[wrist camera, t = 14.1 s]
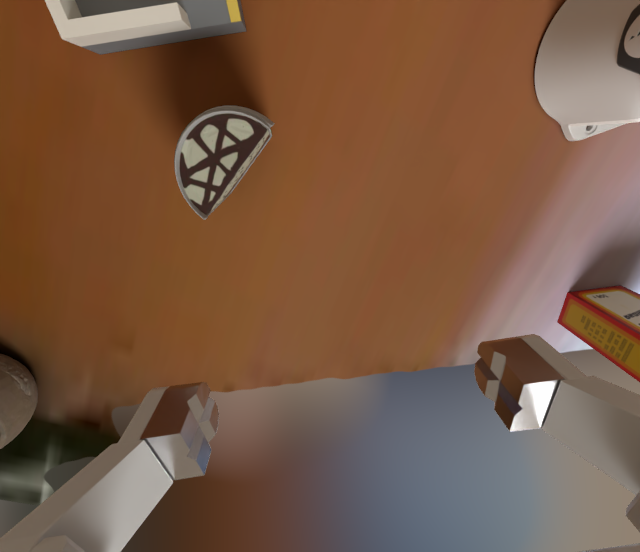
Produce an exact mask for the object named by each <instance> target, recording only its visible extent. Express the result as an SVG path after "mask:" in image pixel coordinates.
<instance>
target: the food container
mask: <svg viewBox="0 0 640 552" xmlns="http://www.w3.org/2000/svg"><path fill="white" fill-rule="evenodd" d="M274 124H275V123H273V122H272V121H271V120H269V119H268V118H267V117H265V116H264V115H262V114H260V113H258V112H257V111H254V110H251V109H249V108H245V107H240V106H229V105H225V106H219V107H215V108H212V109H209V110H206V111H205V112H203V113H201V114H200V115H198V116H197V117H196V118H195V119H194V120H192V121H191V122H190V123H189V124H188V125H187V127H186V128H185V129H184V131H183V132H182V134H181V136H180V138H179V140H178V143H177V147H176V150H175V159H174V164H175V174H176V178H177V182H178V185H179V187H180V190H181V192H182V194H183V196H184V198H185V200H186V201H187V202H188V204H189V205H190V207H191V208H192V209H193V210H194V211H195V212H196V213H197V214H198V215H199V216H200V217H202V218H203V219H204V220H205V219H207V218H208V216H209V215H210V214H211V213H212V212H213V211H214V210H215V209H216V208H217V207H218V206H219V205H220V204H221V203H222V202H223V201H224V200H225V199H226V198H227V197H228V196H229V195H230V194H231V192H232V191H233V190H234V188H235V187H236V186H237V184H238V183H239V181H240V180H241V179H242V177H243V176H244V174H245V173H246V172H247V170H248V169H249V167H250V166H251V165H252V163H253V162H254V161H255V159H256V158H257V156H258V155H259V154H260V152H261V151H262V149H263V148H264V147H265V145H266V144H267V142H268V141H269V140H270V138H271V137H272V133H271V130H270V127H271V126H273V125H274Z"/></svg>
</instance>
